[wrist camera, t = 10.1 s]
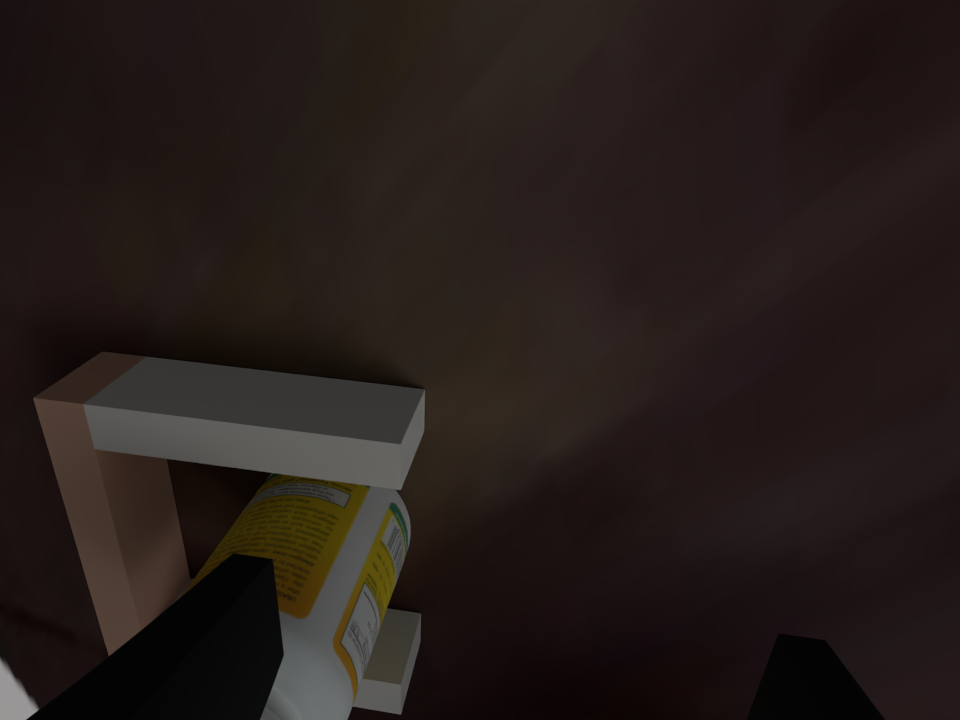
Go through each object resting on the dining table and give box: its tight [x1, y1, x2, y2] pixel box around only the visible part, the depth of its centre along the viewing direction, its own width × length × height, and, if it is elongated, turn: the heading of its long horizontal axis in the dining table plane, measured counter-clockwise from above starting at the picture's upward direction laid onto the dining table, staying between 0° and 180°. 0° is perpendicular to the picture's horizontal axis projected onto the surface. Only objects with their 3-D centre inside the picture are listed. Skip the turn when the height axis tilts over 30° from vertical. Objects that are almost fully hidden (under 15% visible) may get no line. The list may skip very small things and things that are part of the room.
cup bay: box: [33, 351, 425, 714], centre depth 22 cm, size 11×10×3 cm
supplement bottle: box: [182, 473, 411, 720], centre depth 19 cm, size 5×5×10 cm
